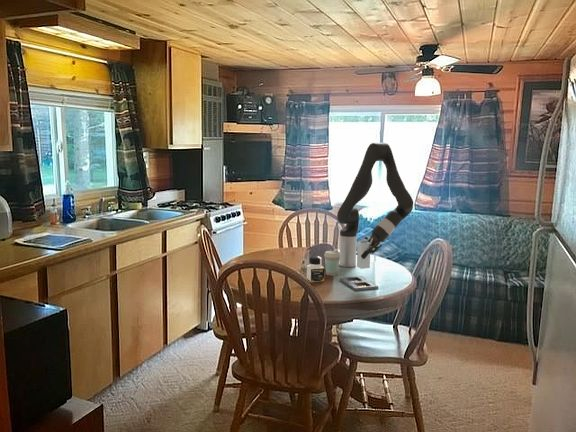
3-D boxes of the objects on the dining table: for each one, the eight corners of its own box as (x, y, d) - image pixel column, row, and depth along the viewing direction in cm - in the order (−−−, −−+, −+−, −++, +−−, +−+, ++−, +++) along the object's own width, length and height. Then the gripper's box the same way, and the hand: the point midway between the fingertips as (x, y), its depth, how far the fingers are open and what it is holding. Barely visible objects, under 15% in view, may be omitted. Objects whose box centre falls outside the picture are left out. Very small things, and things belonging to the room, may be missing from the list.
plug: (356, 266, 230) (357, 239, 228) (365, 265, 231) (366, 238, 229) (361, 268, 225) (361, 241, 223) (369, 268, 227) (370, 240, 225)
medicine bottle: (310, 282, 237) (311, 258, 236) (306, 278, 244) (306, 255, 242) (324, 281, 239) (324, 258, 238) (319, 277, 246) (320, 254, 244)
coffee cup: (339, 277, 247) (339, 254, 245) (322, 276, 249) (323, 253, 247) (340, 272, 255) (341, 250, 254) (324, 271, 257) (325, 250, 255)
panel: (339, 280, 240) (339, 277, 240) (361, 278, 244) (361, 276, 244) (355, 291, 224) (355, 288, 223) (378, 289, 227) (378, 286, 227)
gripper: (371, 222, 234) (348, 248, 232) (386, 227, 221) (361, 254, 219) (380, 232, 237) (358, 258, 235) (395, 237, 223) (371, 265, 221)
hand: (359, 256), depth 227 cm, fingers closed on plug, 4 cm apart
